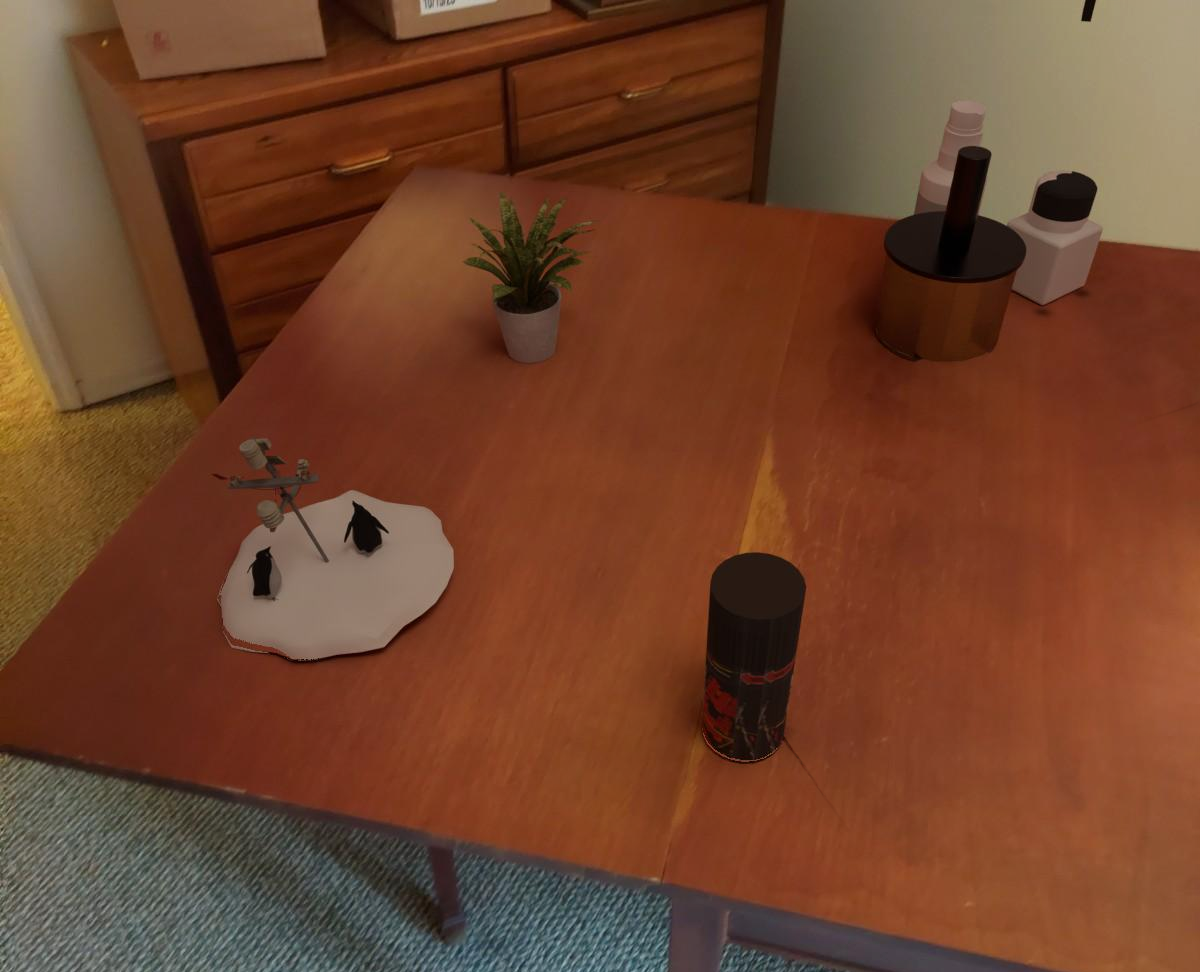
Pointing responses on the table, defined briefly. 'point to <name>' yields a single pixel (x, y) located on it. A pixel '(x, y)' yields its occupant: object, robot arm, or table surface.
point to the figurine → (330, 568)
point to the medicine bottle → (1057, 236)
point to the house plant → (528, 280)
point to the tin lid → (957, 232)
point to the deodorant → (751, 654)
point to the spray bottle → (950, 155)
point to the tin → (939, 315)
